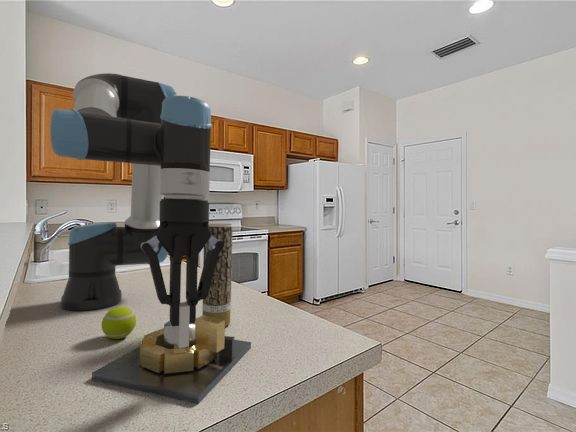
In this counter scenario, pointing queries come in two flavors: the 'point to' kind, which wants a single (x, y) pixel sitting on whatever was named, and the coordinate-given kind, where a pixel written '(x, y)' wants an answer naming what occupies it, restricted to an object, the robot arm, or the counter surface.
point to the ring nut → (184, 359)
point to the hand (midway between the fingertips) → (182, 343)
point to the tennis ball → (118, 322)
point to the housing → (176, 384)
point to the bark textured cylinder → (220, 275)
